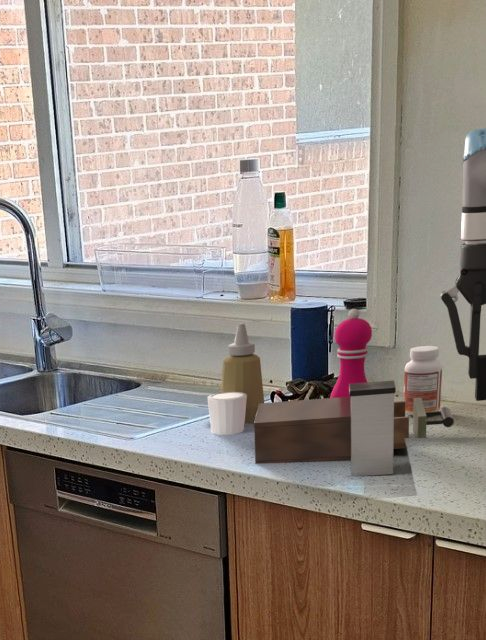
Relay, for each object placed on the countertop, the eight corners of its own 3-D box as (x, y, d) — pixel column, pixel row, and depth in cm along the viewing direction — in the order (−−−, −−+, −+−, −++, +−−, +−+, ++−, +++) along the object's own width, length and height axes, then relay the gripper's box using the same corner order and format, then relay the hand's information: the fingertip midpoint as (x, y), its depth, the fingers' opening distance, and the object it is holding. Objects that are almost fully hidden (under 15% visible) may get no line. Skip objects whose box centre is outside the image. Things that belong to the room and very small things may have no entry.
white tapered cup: (206, 439, 217) (205, 400, 214) (210, 430, 223) (209, 392, 220) (245, 438, 215) (245, 398, 212) (248, 429, 221) (248, 390, 218)
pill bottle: (414, 407, 219) (417, 344, 214) (446, 409, 214) (450, 345, 210) (395, 414, 215) (398, 350, 211) (428, 417, 211) (431, 352, 206)
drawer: (448, 427, 199) (449, 395, 197) (454, 448, 188) (456, 414, 186) (328, 435, 205) (328, 404, 203) (328, 455, 194) (328, 422, 192)
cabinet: (355, 438, 205) (355, 396, 202) (356, 460, 192) (356, 415, 189) (260, 444, 210) (259, 403, 207) (255, 466, 197) (253, 423, 194)
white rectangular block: (393, 465, 187) (394, 380, 182) (394, 474, 182) (395, 387, 177) (349, 467, 189) (349, 383, 184) (349, 477, 184) (349, 391, 179)
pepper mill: (329, 433, 209) (332, 313, 201) (327, 423, 216) (330, 307, 208) (373, 431, 208) (378, 310, 199) (370, 421, 214) (375, 304, 206)
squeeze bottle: (269, 418, 226) (270, 319, 219) (256, 428, 220) (256, 327, 213) (227, 417, 230) (226, 320, 223) (213, 428, 224) (212, 328, 217)
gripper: (532, 232, 182) (523, 390, 191) (438, 242, 186) (434, 396, 195) (539, 237, 176) (529, 400, 185) (442, 247, 180) (437, 407, 189)
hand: (480, 398), depth 190 cm, fingers closed
